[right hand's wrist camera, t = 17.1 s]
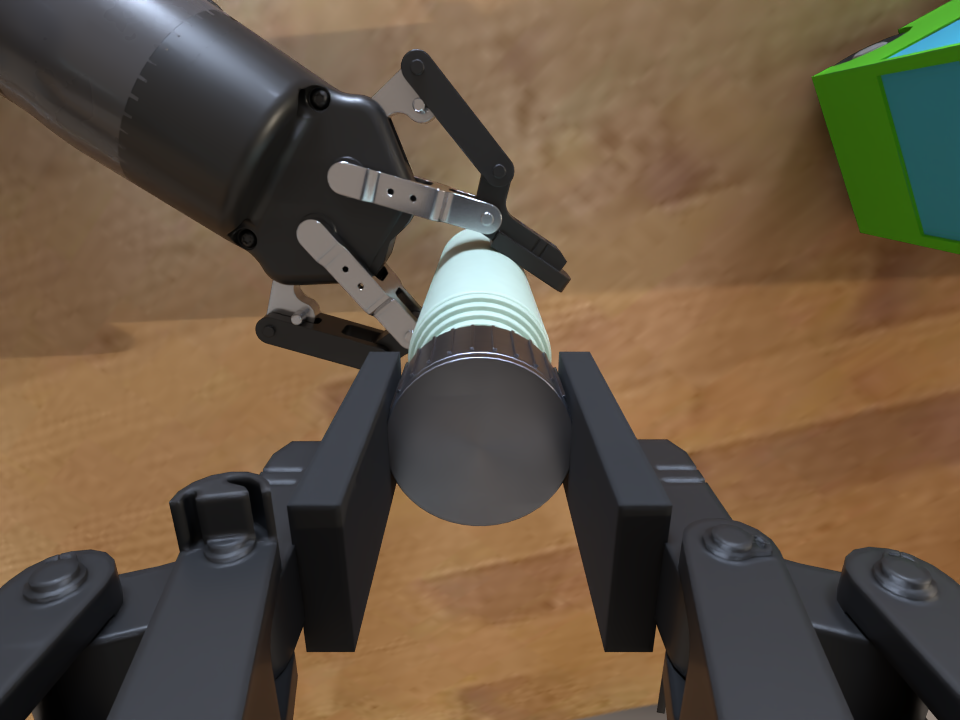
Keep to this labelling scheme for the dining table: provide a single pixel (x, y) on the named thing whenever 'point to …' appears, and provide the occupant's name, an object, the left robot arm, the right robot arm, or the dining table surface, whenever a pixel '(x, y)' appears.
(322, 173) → the left robot arm
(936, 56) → the toy car
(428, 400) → the cap
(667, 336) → the dining table surface
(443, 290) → the bottle
